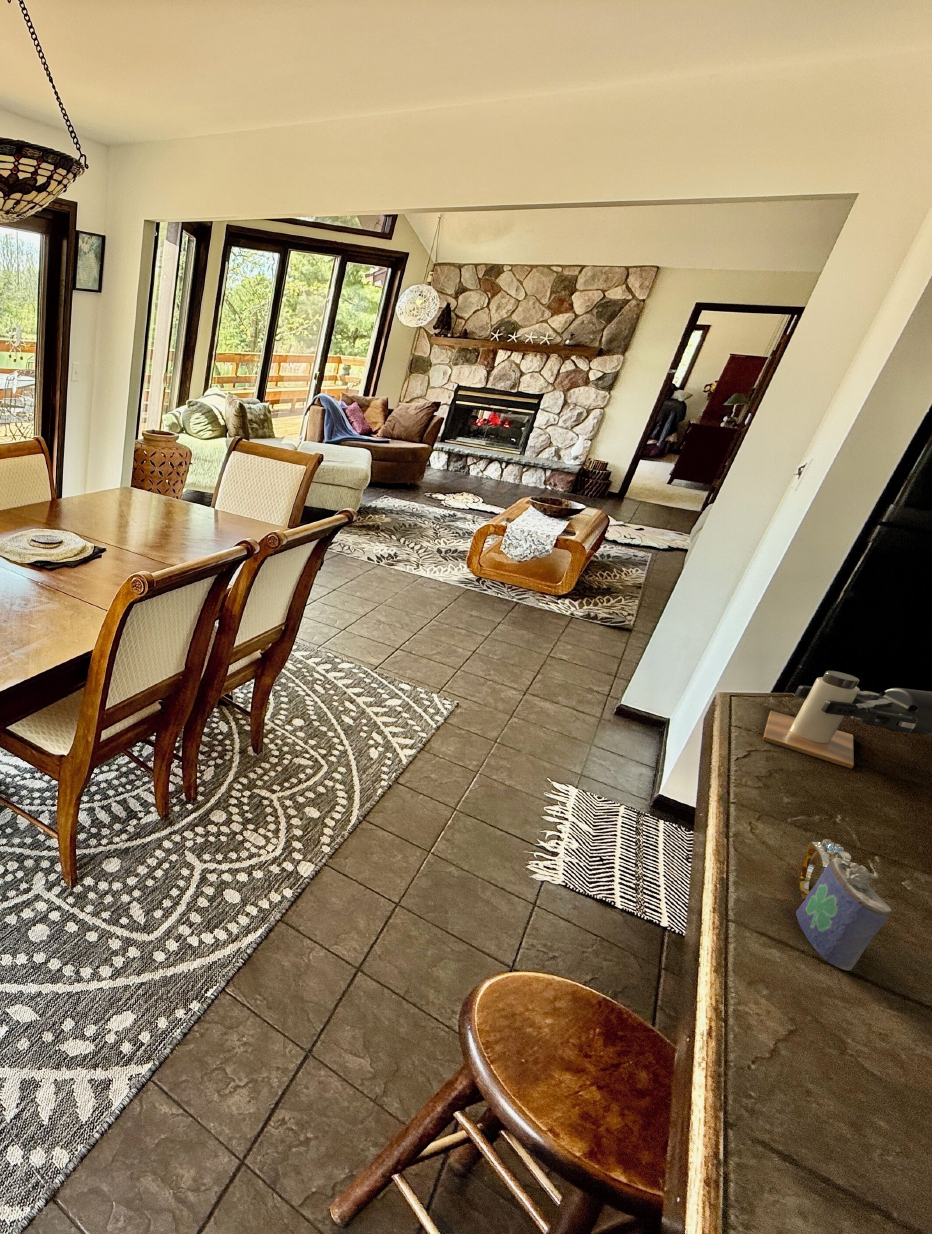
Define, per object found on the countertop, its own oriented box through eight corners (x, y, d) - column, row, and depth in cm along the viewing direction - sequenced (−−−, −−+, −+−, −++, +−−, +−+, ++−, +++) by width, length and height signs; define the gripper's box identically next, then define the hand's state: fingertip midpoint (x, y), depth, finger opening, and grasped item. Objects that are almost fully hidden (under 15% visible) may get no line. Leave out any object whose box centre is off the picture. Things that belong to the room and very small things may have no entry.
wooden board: (851, 768, 109) (854, 764, 109) (762, 740, 116) (764, 736, 116) (851, 738, 119) (853, 734, 119) (769, 713, 126) (770, 710, 126)
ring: (781, 875, 83) (811, 824, 80) (816, 889, 81) (849, 837, 78) (785, 905, 78) (818, 851, 75) (823, 920, 76) (858, 866, 73)
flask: (853, 980, 68) (908, 901, 64) (815, 967, 69) (867, 889, 65) (817, 921, 76) (864, 848, 72) (783, 910, 77) (827, 838, 73)
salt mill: (821, 732, 119) (854, 673, 114) (836, 746, 114) (871, 685, 110) (784, 725, 121) (815, 666, 116) (797, 737, 116) (830, 677, 112)
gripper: (896, 675, 118) (789, 663, 120) (980, 713, 104) (858, 698, 107) (875, 712, 120) (770, 698, 123) (954, 753, 107) (835, 738, 110)
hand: (812, 698), depth 115 cm, fingers closed on salt mill, 5 cm apart
